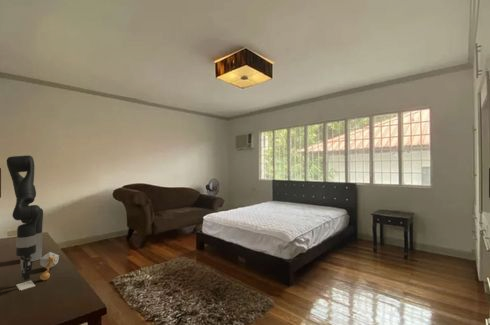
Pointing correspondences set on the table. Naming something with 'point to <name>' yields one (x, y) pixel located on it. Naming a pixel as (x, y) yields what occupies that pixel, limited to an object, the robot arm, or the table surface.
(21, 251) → the robot arm
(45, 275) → the figurine
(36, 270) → the table surface
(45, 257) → the die
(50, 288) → the table surface
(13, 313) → the table surface
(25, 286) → the grey mat
